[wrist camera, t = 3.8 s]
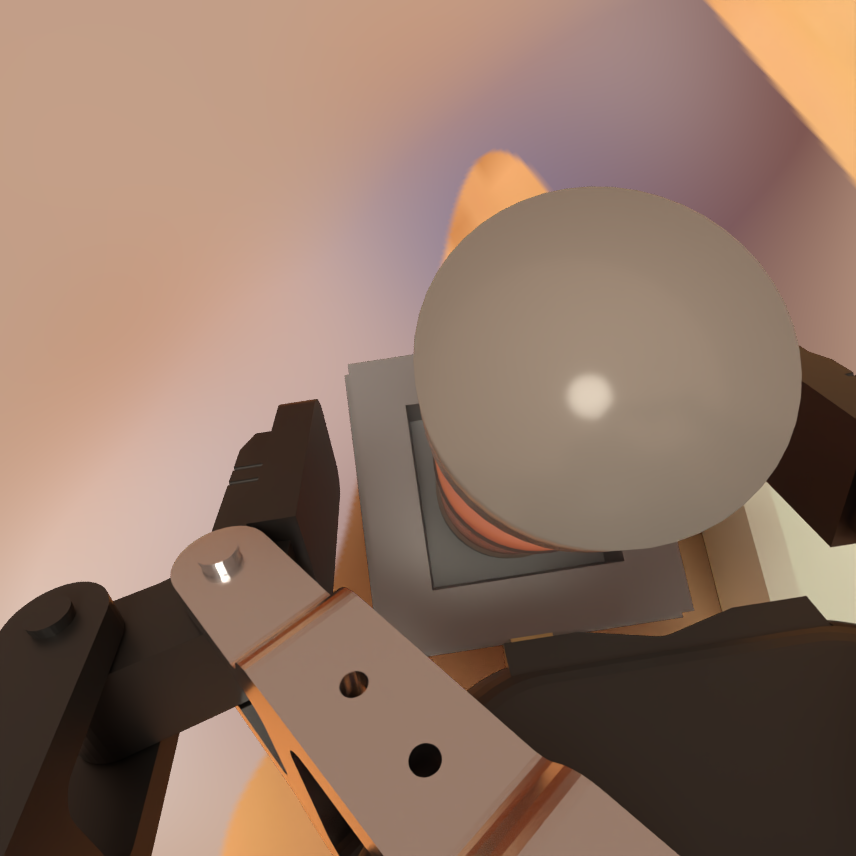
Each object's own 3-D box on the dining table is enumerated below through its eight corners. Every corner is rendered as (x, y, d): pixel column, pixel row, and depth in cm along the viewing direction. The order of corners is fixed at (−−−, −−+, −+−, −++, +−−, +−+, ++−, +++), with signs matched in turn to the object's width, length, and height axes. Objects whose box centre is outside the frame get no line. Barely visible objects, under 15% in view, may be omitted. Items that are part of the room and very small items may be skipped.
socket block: (603, 321, 20) (627, 283, 17) (678, 642, 18) (721, 656, 15) (345, 360, 20) (329, 328, 17) (386, 687, 18) (374, 709, 15)
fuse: (557, 414, 19) (742, 161, 7) (585, 547, 18) (854, 517, 6) (427, 434, 19) (389, 215, 7) (447, 568, 18) (443, 578, 6)
